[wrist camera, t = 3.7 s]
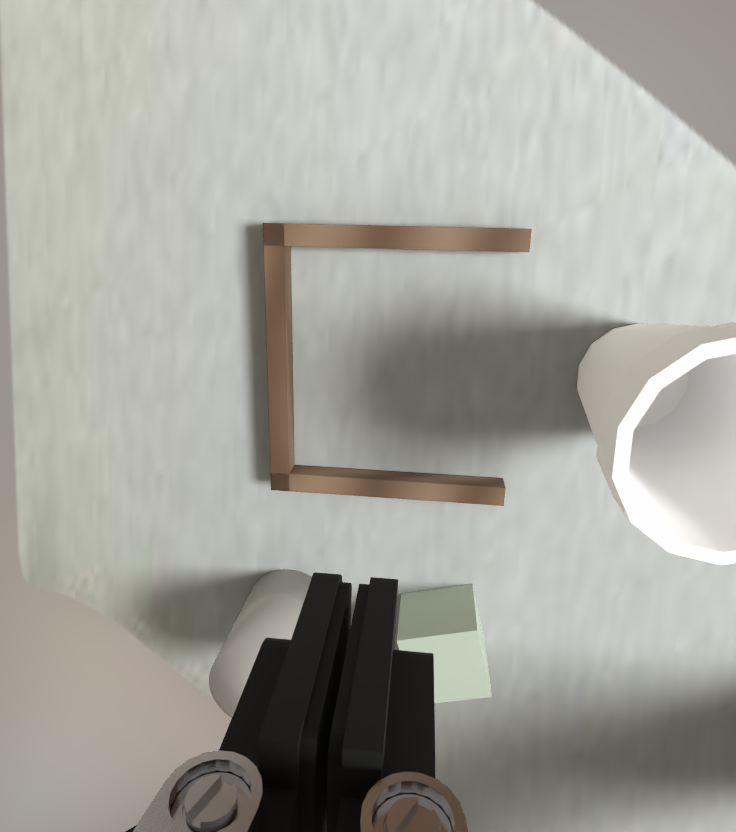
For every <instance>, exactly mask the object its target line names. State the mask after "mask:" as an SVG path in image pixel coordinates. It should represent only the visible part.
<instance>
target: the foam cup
mask: <svg viewBox="0 0 736 832" xmlns="http://www.w3.org/2000/svg"><path fill="white" fill-rule="evenodd" d="M577 390H578V393H579V396H580V399H581V402H582V404H583V407H584V410H585V413H586V416H587V418H588V421H589V424H590V427H591V429H592V432H593V435H594V438H595V440H596V443H597V455H596V457H597V459H598V462H599V464H600V466H601V469H602V471H603V474H604V476H605V478H606V481H607V483H608V485H609V488H610V490H611V493H612V495H613V497H614V499H615V500H616V502H617V503H618V505H619V506H620V508H621V509H622V511H623V512H624V513H625V515H626V516H627V518H628V519H629V521H630V522H631V523H632V524H633V525H635V526H636V527H637V528H638V529H640V530H641V531H642V532H643V533H645V534H646V535H647V536H648V537H650V538H651V539H652V540H653V541H655V542H656V543H657V544H658V545H660V546H661V547H662V548H663V549H665V550H666V551H667V552H668V553H671V554H676V555H680V556H684V557H688V558H692V559H696V560H701V561H705V562H709V563H713V564H717V565H727V564H734V563H736V323H733V322H732V323H727V324H722V325H717V326H691V325H670V324H648V323H641V324H639V323H637V324H633V325H628V326H623V327H619V328H614V329H612V330H610V331H609V332H607V333H606V334H605V335H603V336H602V337H600V338H599V339H598V340H596V341H595V342H593V343H592V344H591V346H590V347H589V349H588V351H587V352H586V354H585V356H584V357H583V359H582V361H581V362H580V364H579V369H578V380H577Z"/></svg>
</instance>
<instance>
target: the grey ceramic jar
mask: <svg viewBox="0 0 736 832" xmlns="http://www.w3.org/2000/svg"><path fill="white" fill-rule="evenodd" d="M311 579H312V577H311V576H309V575H307V574H305V573H302V572H299V571H295V570H276V571H273V572H270V573H268V574H266V575H264V576H263V577H261V578H260V579H259V580H258V581H257V582H256V583H255V585H254V587H253V588H252V590H251V592H250V594H249V596H248V598H247V600H246V602H245V604H244V606H243V608H242V610H241V612H240V614H239V615H238V617H237V619H236V621H235V623H234V625H233V627H232V629H231V631H230V633H229V635H228V637H227V639H226V641H225V643H224V644H223V646H222V648H221V650H220V652H219V654H218V656H217V658H216V660H215V662H214V664H213V666H212V668H211V671H210V675H209V685H210V690H211V693H212V696H213V698H214V700H215V701H216V703H217V704H218V705H219V707H220V708H221V709H222V710H223V711H224V712H225V713H226V714H227V715H229V716H230V717H233V715H234V712H235V710H236V707H237V705H238V702H239V700H240V697H241V695H242V692H243V690H244V687H245V685H246V682H247V680H248V677H249V675H250V672H251V670H252V667H253V665H254V662H255V660H256V657H257V655H258V652H259V650H260V647H261V645H262V643H263V641H264V639H266V638H277V639H288V640H291V639H292V636H293V633H294V630H295V627H296V624H297V621H298V618H299V615H300V612H301V609H302V606H303V603H304V600H305V597H306V594H307V591H308V588H309V585H310V582H311Z"/></svg>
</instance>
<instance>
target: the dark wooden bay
mask: <svg viewBox="0 0 736 832" xmlns="http://www.w3.org/2000/svg"><path fill="white" fill-rule="evenodd" d="M263 237H264V270H265V303H266V336H267V369H268V402H269V435H270V468H271V490H280V491H295V492H309V493H324V494H339V495H354V496H368V497H383V498H398V499H412V500H427V501H442V502H457V503H471V504H486V505H501V506H504V497H505V485H504V481H503V478H489V477H474V476H458V475H442V474H426V473H410V472H395V471H379V470H363V469H347V468H332V467H316V466H300V465H294V413H293V354H292V296H291V246H309V247H348V248H387V249H426V250H465V251H504V252H529V249H530V239H531V229H509V228H463V227H417V226H371V225H325V224H279V223H263Z"/></svg>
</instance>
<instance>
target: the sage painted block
mask: <svg viewBox="0 0 736 832" xmlns="http://www.w3.org/2000/svg"><path fill="white" fill-rule="evenodd" d="M397 644H398V647H399V650H403V651H413V652H424V653H433V656H434V703H442V702H451V701H460V700H469V699H479V698H488V697H492V693H491V685H490V677H489V669H488V661H487V652H486V644H485V640H484V635H483V631H482V626H481V621H480V617H479V612H478V607H477V603H476V598H475V593H474V589H473V584H468V585H461V586H454V587H447V588H440V589H433V590H425V591H418V592H411V593H404V594H401V601H400V611H399V622H398V632H397Z"/></svg>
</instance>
